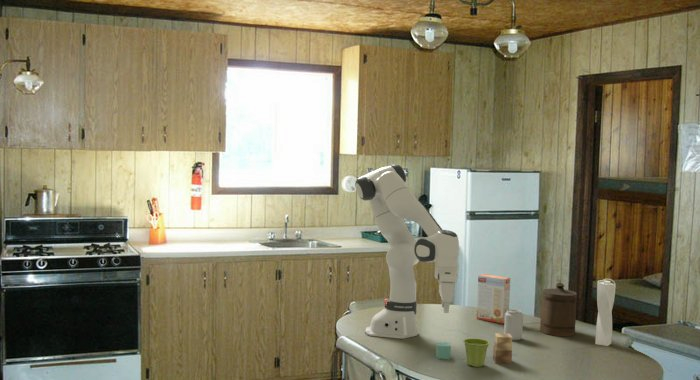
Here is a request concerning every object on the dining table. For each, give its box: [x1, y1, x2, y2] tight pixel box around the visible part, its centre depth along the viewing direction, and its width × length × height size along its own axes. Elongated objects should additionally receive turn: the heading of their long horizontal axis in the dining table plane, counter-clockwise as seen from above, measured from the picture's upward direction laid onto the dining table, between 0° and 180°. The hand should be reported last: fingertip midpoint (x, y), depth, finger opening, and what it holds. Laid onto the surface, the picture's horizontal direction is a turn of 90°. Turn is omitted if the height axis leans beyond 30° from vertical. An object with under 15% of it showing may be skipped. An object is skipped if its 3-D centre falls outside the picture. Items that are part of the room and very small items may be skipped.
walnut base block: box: [492, 345, 513, 365], centre depth 275 cm, size 6×6×5 cm
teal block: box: [435, 341, 452, 360], centre depth 278 cm, size 5×5×5 cm
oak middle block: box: [494, 332, 513, 352], centre depth 275 cm, size 6×6×5 cm
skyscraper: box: [594, 278, 617, 347], centre depth 305 cm, size 8×8×28 cm
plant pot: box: [463, 337, 490, 368], centre depth 270 cm, size 9×9×9 cm
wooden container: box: [539, 282, 578, 337], centre depth 323 cm, size 15×15×22 cm
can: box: [503, 308, 524, 341], centre depth 310 cm, size 8×8×12 cm
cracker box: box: [476, 273, 511, 324], centre depth 341 cm, size 14×6×21 cm, turn 49°
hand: (445, 309), depth 277 cm, fingers open, 8 cm apart
